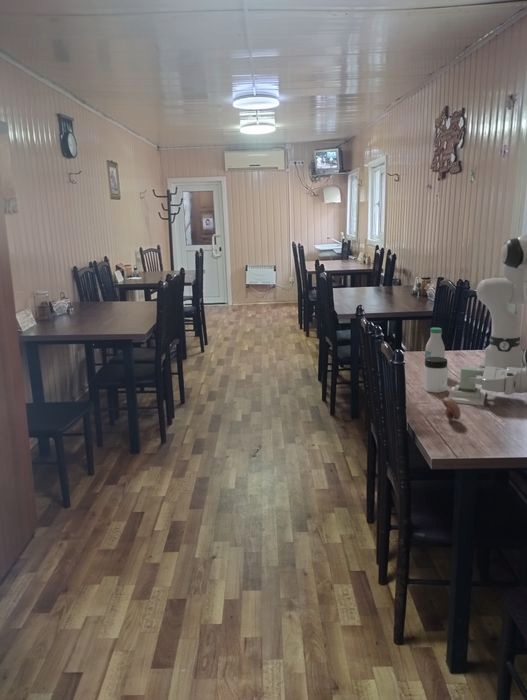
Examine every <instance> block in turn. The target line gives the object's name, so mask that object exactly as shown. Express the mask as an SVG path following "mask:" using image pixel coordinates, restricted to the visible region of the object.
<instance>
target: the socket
mask: <svg viewBox="0 0 527 700" xmlns="http://www.w3.org/2000/svg"><path fill="white" fill-rule="evenodd" d="M481 387H482V386H475V389H474V392H464V391H461V388H460V384H455V386H451V389H450V390H449V393H448V396H447V397H449V398H452V399H453V400H454V401H455V402H456V404H463V405H464V404H465V405H474V406H484V404H485V399H486V394H487V393H486V392H487V390H484V389H482V388H481Z"/></svg>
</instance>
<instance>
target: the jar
mask: <svg viewBox="0 0 527 700" xmlns="http://www.w3.org/2000/svg"><path fill="white" fill-rule="evenodd" d="M422 371H423V372H422V373H423V376H422V389H423V390H424V391H426V392H427V393H436V394H440V393H443V392H447V390H448V389H447V388H448V373H449V367H448V358H446V357H444V358H442V357H427V358H425V357H424V365H423V370H422Z"/></svg>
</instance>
